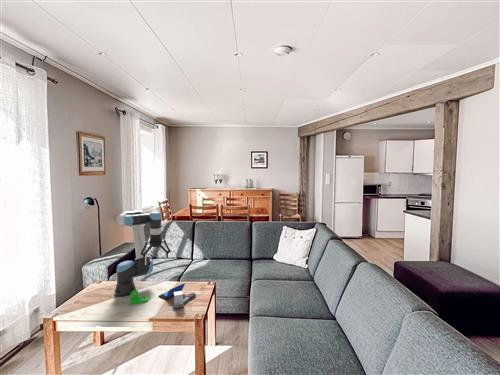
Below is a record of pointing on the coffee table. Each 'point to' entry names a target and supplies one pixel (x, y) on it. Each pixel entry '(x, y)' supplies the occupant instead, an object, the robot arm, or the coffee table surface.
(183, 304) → the ladle
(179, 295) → the grey metal block
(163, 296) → the handheld game console
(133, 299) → the mechanical part
